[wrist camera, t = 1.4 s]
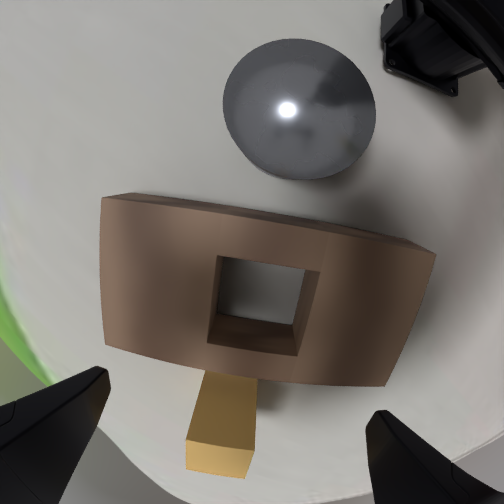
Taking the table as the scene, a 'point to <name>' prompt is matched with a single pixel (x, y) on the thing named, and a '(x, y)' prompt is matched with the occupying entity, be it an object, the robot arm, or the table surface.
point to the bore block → (247, 330)
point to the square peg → (223, 426)
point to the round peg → (299, 109)
